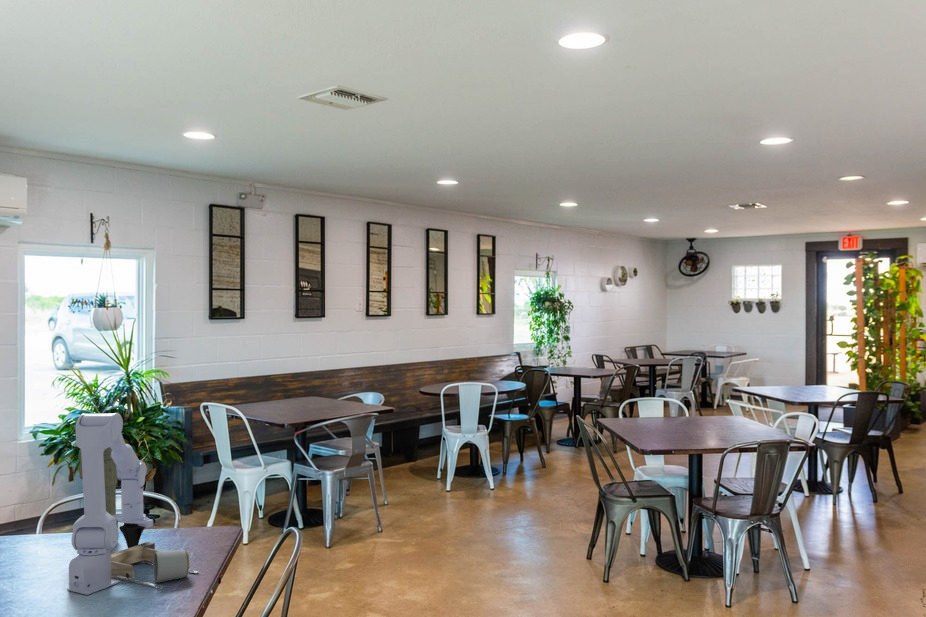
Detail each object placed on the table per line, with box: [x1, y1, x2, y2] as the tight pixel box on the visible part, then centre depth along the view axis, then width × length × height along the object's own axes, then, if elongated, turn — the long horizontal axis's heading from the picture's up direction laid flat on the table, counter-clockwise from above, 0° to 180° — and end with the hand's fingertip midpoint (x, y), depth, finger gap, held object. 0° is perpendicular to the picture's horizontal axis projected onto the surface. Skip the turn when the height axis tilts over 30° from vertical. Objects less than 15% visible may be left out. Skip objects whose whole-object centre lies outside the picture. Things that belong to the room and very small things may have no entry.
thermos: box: [78, 447, 119, 529], centre depth 230 cm, size 9×12×35 cm
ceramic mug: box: [152, 549, 190, 583], centre depth 201 cm, size 11×8×8 cm
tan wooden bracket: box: [111, 541, 161, 579], centre depth 207 cm, size 15×12×4 cm
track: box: [111, 560, 199, 589], centre depth 203 cm, size 13×23×1 cm, turn 63°
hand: (132, 549), depth 218 cm, fingers closed
